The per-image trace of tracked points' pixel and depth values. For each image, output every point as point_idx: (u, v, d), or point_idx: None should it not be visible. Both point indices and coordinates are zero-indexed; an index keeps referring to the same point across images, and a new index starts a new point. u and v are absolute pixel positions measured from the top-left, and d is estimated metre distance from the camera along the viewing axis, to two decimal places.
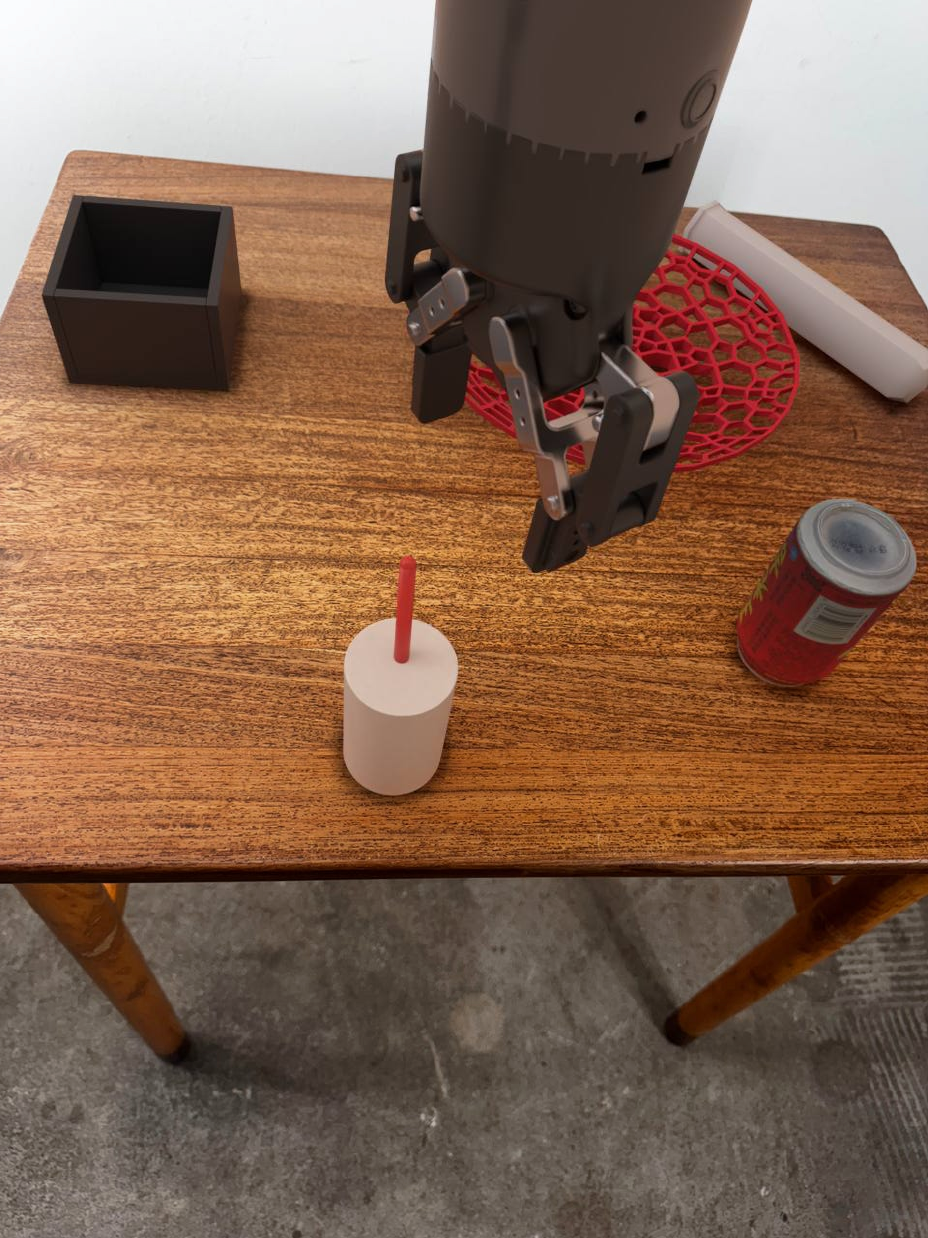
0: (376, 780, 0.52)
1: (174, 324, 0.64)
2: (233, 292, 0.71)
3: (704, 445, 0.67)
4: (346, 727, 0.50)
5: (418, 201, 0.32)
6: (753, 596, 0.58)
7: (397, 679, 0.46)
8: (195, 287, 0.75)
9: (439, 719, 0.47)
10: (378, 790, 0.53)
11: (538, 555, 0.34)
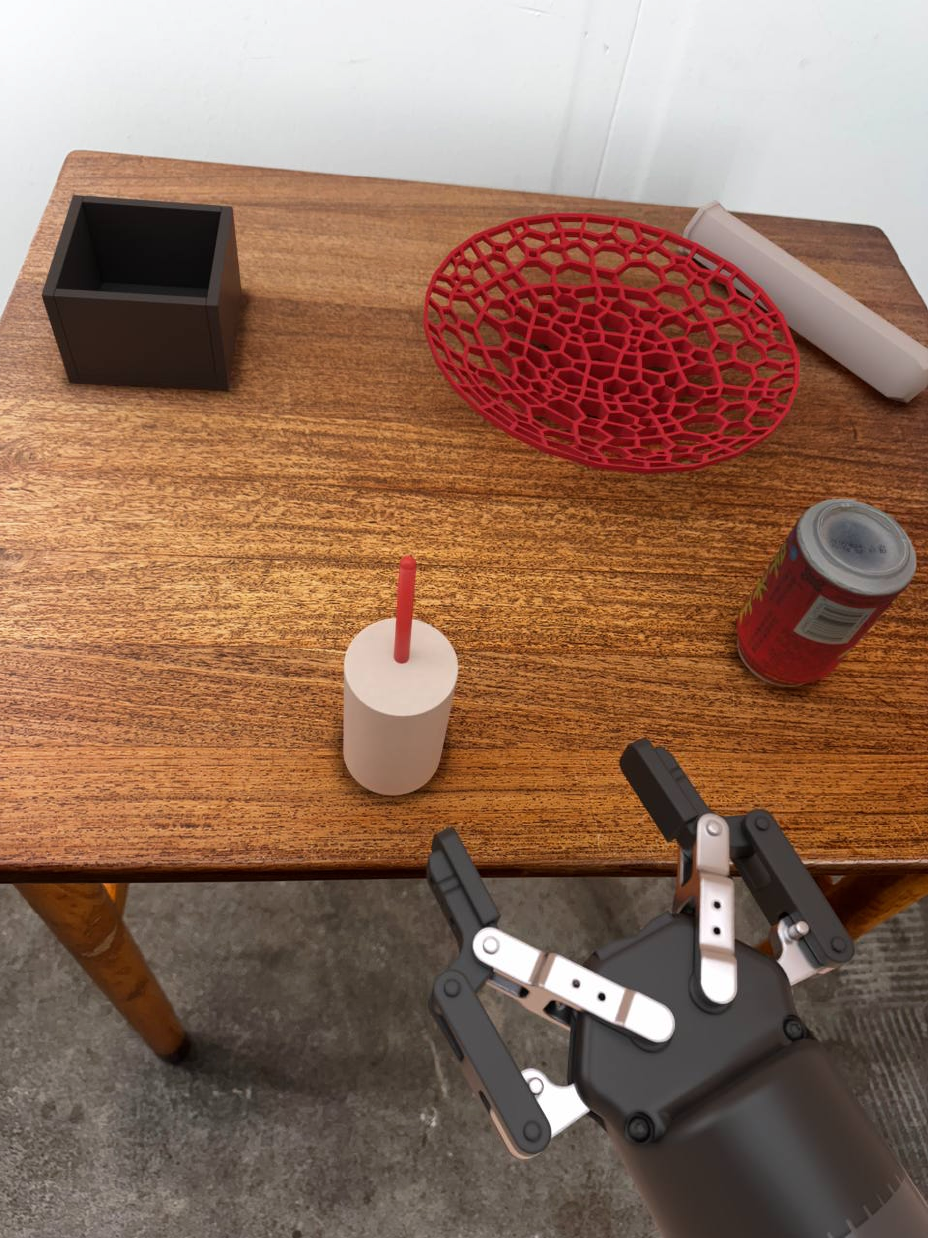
0: (376, 780, 0.52)
1: (174, 324, 0.64)
2: (233, 292, 0.71)
3: (704, 445, 0.67)
4: (346, 727, 0.50)
5: (808, 934, 0.33)
6: (753, 596, 0.58)
7: (397, 679, 0.46)
8: (195, 287, 0.75)
9: (439, 719, 0.47)
10: (378, 790, 0.53)
11: (450, 861, 0.33)
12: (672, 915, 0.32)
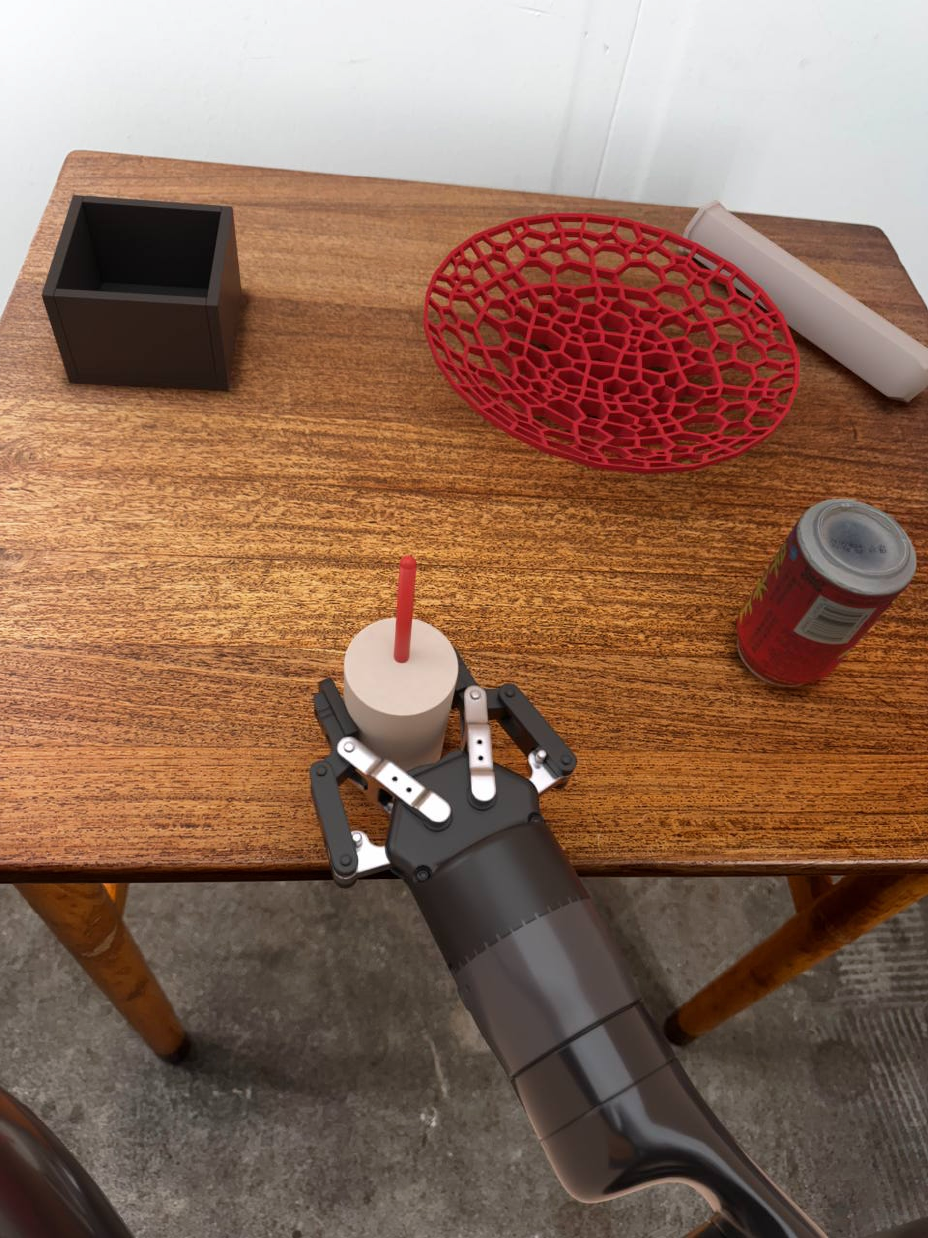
0: None
1: (174, 324, 0.64)
2: (233, 292, 0.71)
3: (704, 445, 0.67)
4: None
5: (547, 758, 0.48)
6: (753, 596, 0.58)
7: (397, 679, 0.46)
8: (195, 287, 0.75)
9: (439, 719, 0.47)
10: None
11: (327, 698, 0.49)
12: (452, 755, 0.48)
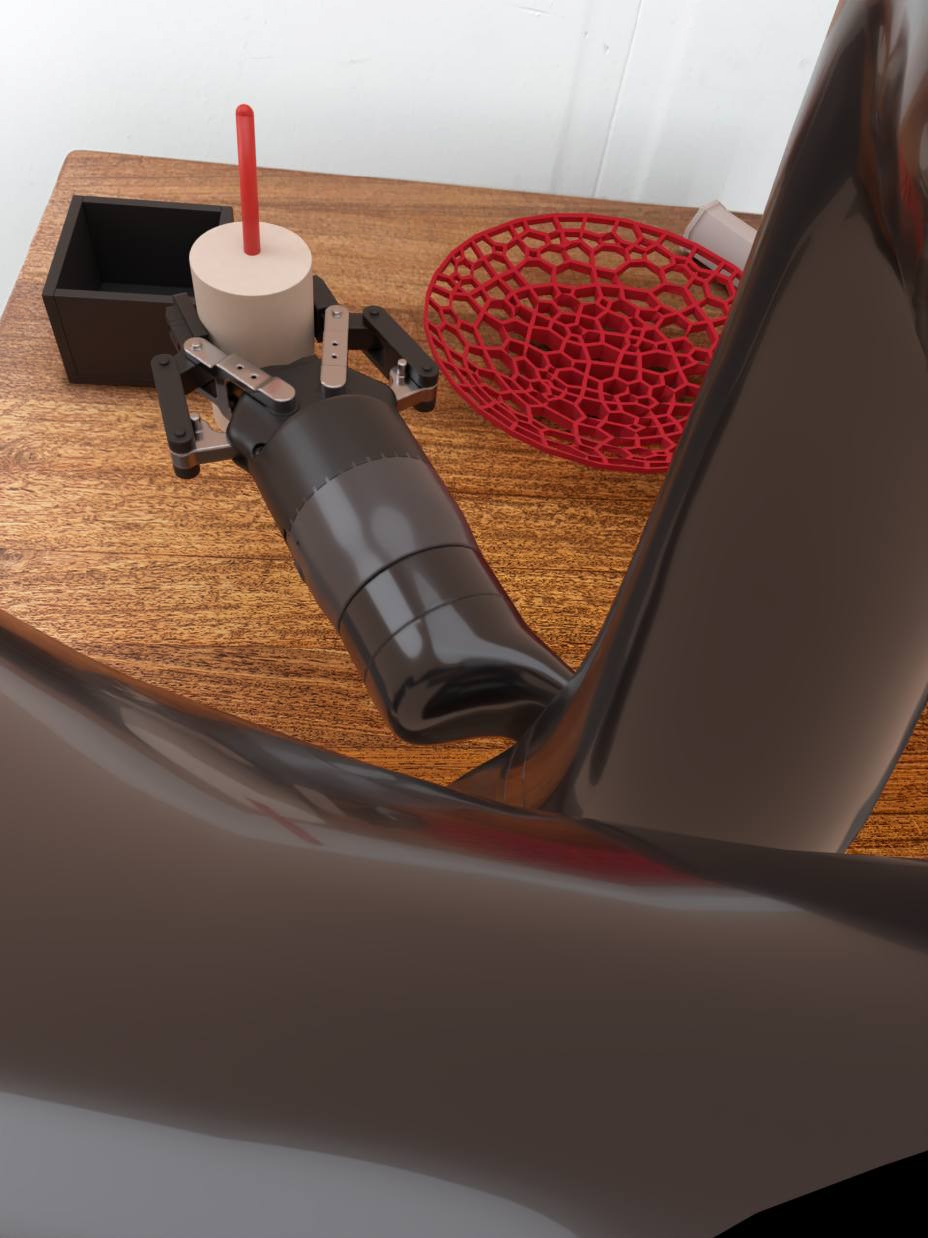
0: None
1: None
2: None
3: None
4: None
5: (408, 368, 0.46)
6: None
7: (245, 267, 0.44)
8: None
9: (293, 320, 0.45)
10: None
11: (179, 308, 0.46)
12: (307, 360, 0.45)
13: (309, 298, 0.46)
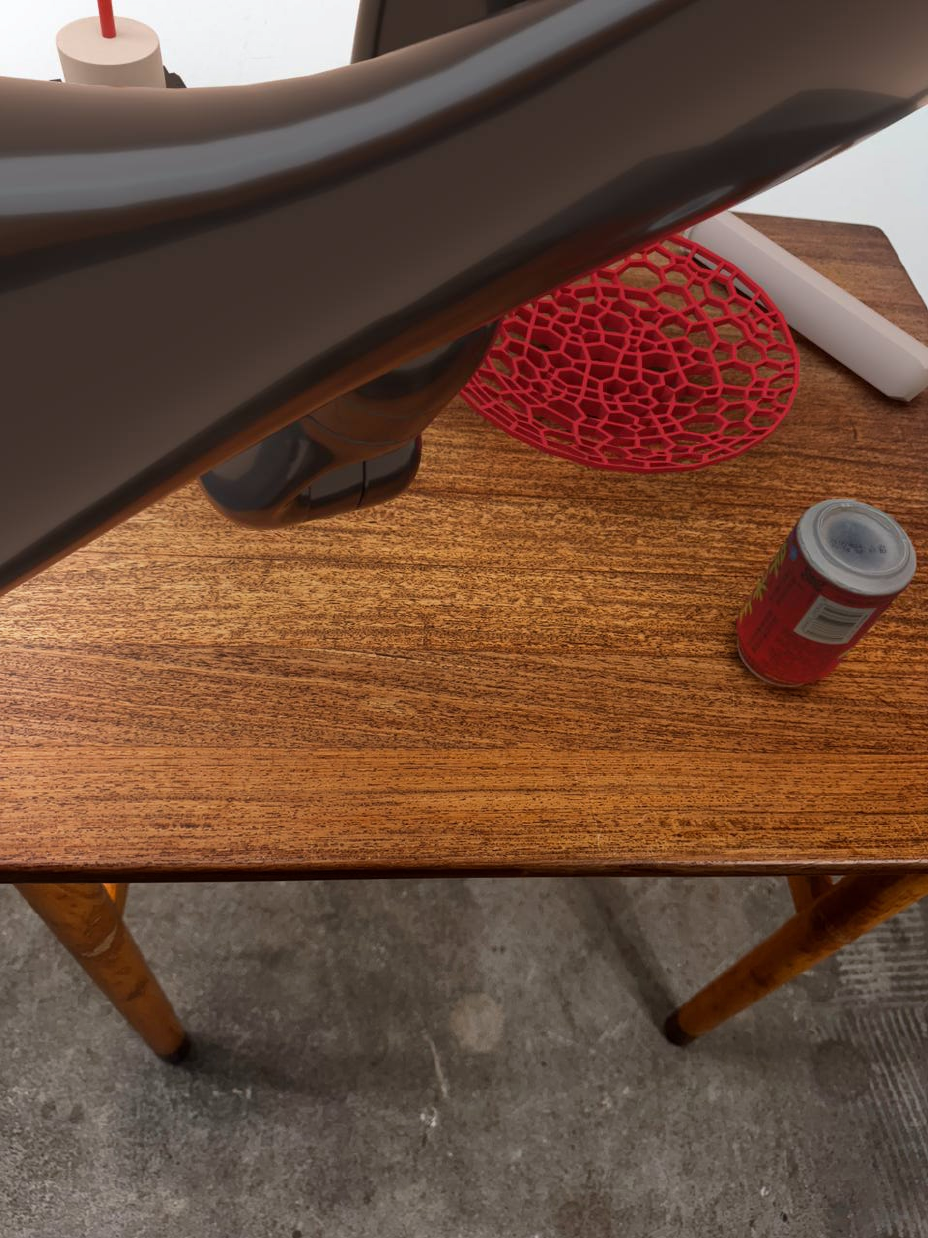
0: None
1: None
2: None
3: (704, 445, 0.67)
4: None
5: None
6: (753, 596, 0.58)
7: (101, 45, 0.54)
8: None
9: None
10: None
11: None
12: None
13: (158, 77, 0.55)
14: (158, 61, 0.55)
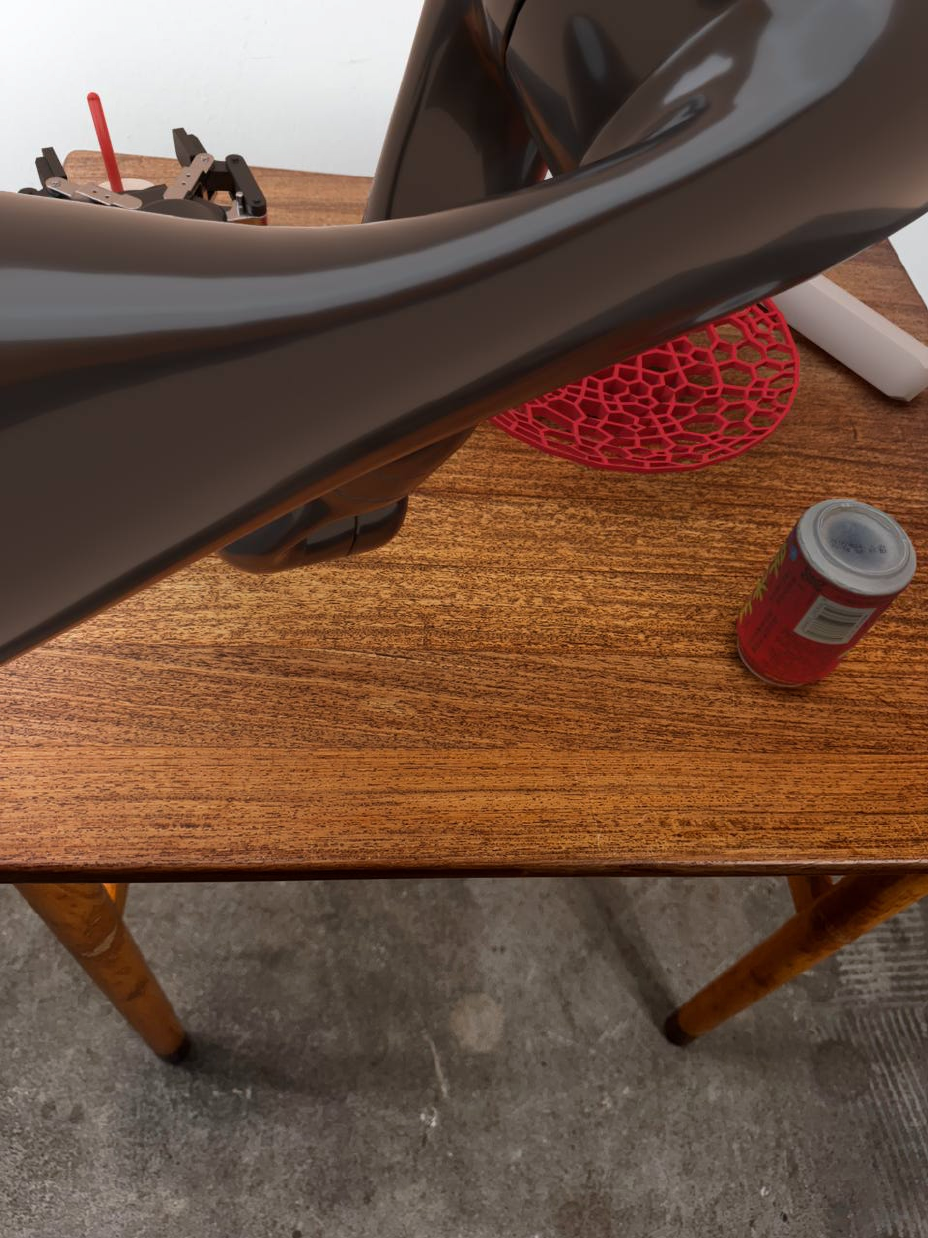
0: None
1: None
2: None
3: (704, 445, 0.67)
4: None
5: (244, 200, 0.59)
6: (753, 596, 0.58)
7: None
8: None
9: None
10: None
11: (45, 157, 0.59)
12: None
13: None
14: None
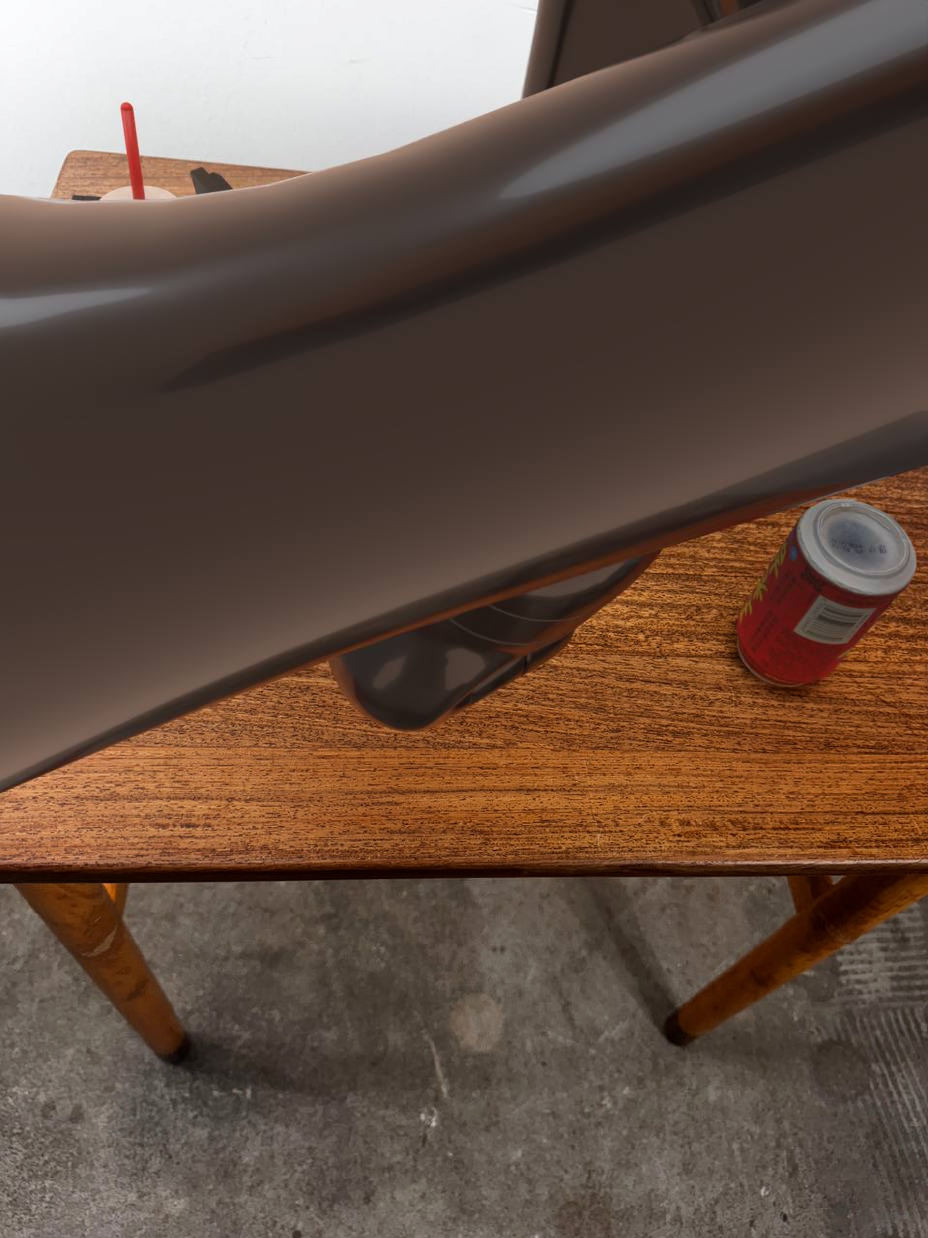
0: None
1: None
2: None
3: None
4: None
5: None
6: (753, 596, 0.58)
7: None
8: None
9: None
10: None
11: None
12: None
13: None
14: None
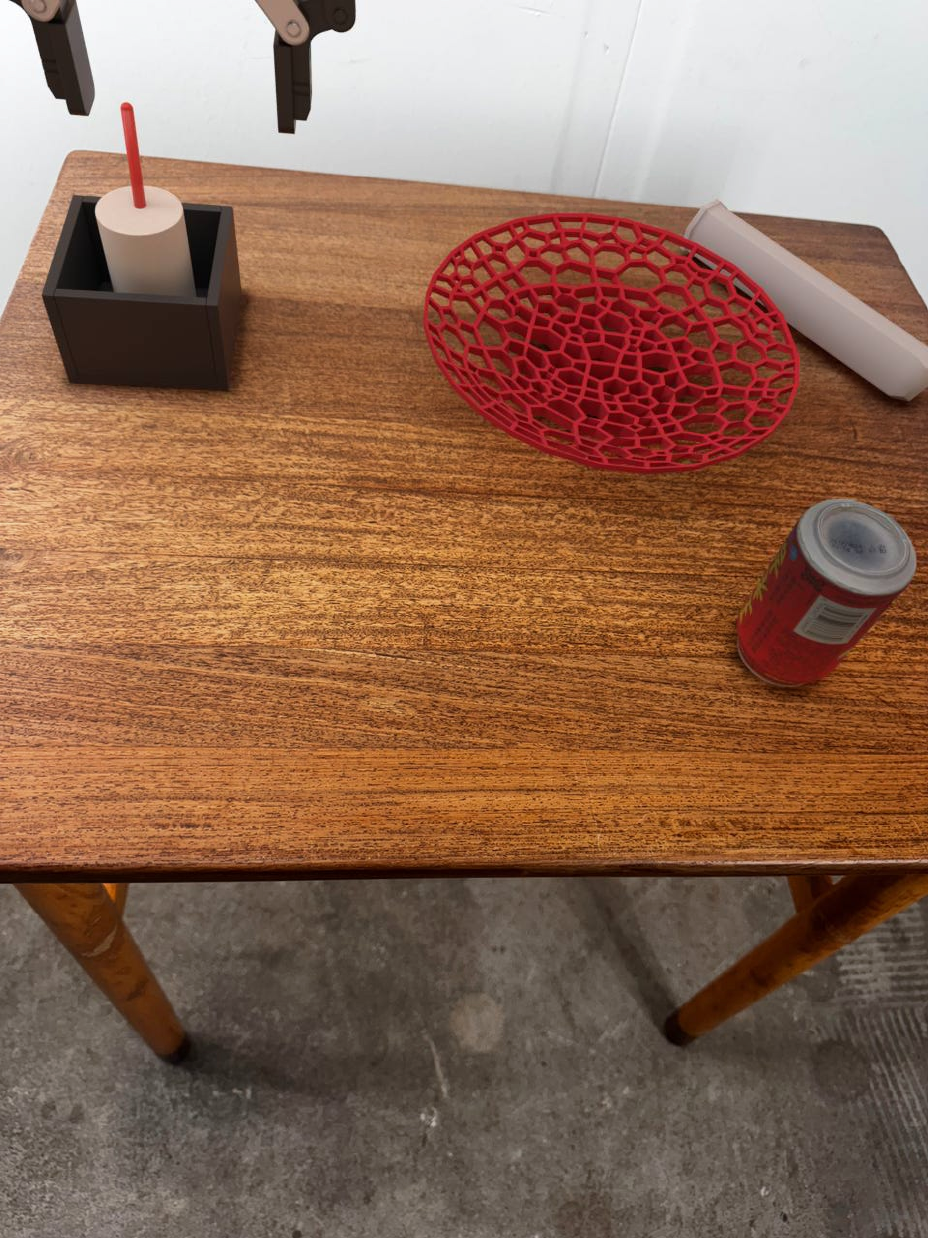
0: None
1: (174, 324, 0.64)
2: (233, 292, 0.71)
3: (704, 445, 0.67)
4: (111, 279, 0.67)
5: None
6: (753, 596, 0.58)
7: (134, 216, 0.63)
8: (195, 287, 0.75)
9: (171, 254, 0.64)
10: None
11: (293, 107, 0.39)
12: None
13: (182, 238, 0.65)
14: (182, 226, 0.64)
